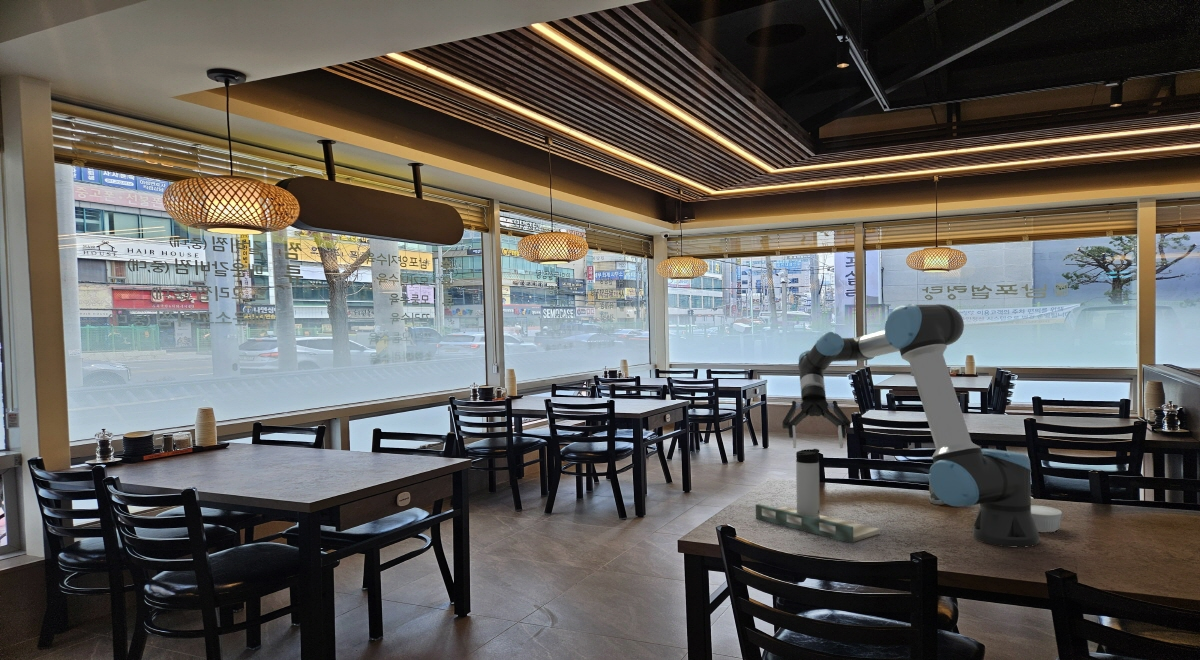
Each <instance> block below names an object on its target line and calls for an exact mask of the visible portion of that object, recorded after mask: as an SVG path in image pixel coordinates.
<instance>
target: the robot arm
mask: <svg viewBox="0 0 1200 660" xmlns="http://www.w3.org/2000/svg"><path fill="white" fill-rule="evenodd" d="M964 329H965V323H964V319H963V316H962V314H961V313H960V312H959V311H958V310H957V309H955V308H954V307H952V306H950V305H947V304H940V303H939V304H914V303H913V304H912V303H909V304H903V305H898V306H897V307H895V308H893V310H892V311H890V313H889V314H888V315H887V319H886V321H885V324H884V329H882V330H878V331H874V332H871V333H867V334H864V335H860V336H856V337H842V336H841V335H839V334H838V333H837V332H834V331H827V332H824V333H823V334H822V335H821V336H820V337H819V338H818V339H817V340H816V342H815V344H814V345H813V346H812V348H811V349H809V350H805V351H804V352H802V353H801V354H799V357H798V363H797V364H798V373H799V382H800V383H799V386H800V397H801V402H797V401H796V400H792V402H791V407H790V409H789V410H788V412H787V414H786V415H785V417H784V419H783V421H782V429H787V430H788V437H789V439H790V438H792V444H793V448H794V449H796V448H797V435H796V426H798V425H799V423H800V422H802V421H803V420H804V419H805V418H806V417H808V416H809V417H814V416H815V417H821V416H822V417H823V418H824V419H826V420H828V421H829V422H831V423H832V424H833V425H834V426H835V427H837V434H838V442H839V443H838V444H839V449H843V448H844V440H843V439H845V438H846V437H847V435H846V429H847V430H849V429H850V428H851V421H850V419H849V418H848V417H847V416H846V414H845V413H844V412H843V410H842V409H841V408H840V406H839V405H838V402H837V401H836V400H832V402H828V401H827V396H826V388H825V379H824V372H825V371H826V370H827V368H828V367H829V366H830V365H831V364H832V363H833V362H848V361H853V362H854V361H856V362H857V361H861V362H862V361H863V362H864V361H870V360H872V359H874V358H875V357H878V356H882V355H883V356H884V355H888V354H891V353H896V352H897V353H898V352H899V354H900V356H901V359H902V360H904V361H906V362H908V363H909V365H910V368H911V371H912V375H913V379H914V381H915V384H916V388H917V391H918V394H919V397H920V400H921V405H922V407H923V411H924V414H925V416H926V417H925V418H926V420H927V423H928V426H929V430H930V434H931V437H932V440H933V443H934V447H935V451H934V453H933V455H932V456H931V457H932V461H933V464H932V465H931V466H930V468H929V473H928V481H929V485H930V486H931V488H932V490H933V492H934V493H935V495H936V496H937V497H938V498H939V499H940V500H942V501H944V502H945V505H948V506H951V507H964V508H965V507H971V506H974V505H975V506H976V505H979V510H978V512H977V515H976V519H975V520H974V522H973V523H974V524H973V526H972V536H974V537H973V538H974V539H976V540H977V539H978V540H977V541H979V540H980V542H982V541H983V543H985V542H986V543H985V544H988V543H989V545H993V544H994V546H998V545H1002V546H1001V547H1005V546H1017V547H1016V548H1018V547H1022V548H1026V547H1025V546H1032V545H1036V544H1038V543H1039V544H1040V533H1038V530H1037V527H1036V524H1035V522H1034V519H1033V516H1032V514H1031V505H1032V499H1031V498H1032V489H1031V488H1032V487H1031V485H1032V478H1031V477H1032V476H1031V475H1032V474H1031V473H1032V469H1031V460H1030V458H1029V456H1028V455H1026V454H1025V453H1021V452H1020V453H1019V452H1017V451H1016V452H1014V451H1008V450H1001V449H994V448H993V449H992V448H981V446H979V445H977V444H975V443H973V441H972V439H971V434H970V433H969V429H968V427H967V423H966V420H965V417H964V414H963V411H962V407H961V406H960V402H959V398H958V396H957V394H956V393H957V392H956V389H955V386H954V384H953V382H952V378H951V374H950V372H949V368H948V365H947V362H946V359H945V357H944V353H945V351H946V350H947V349H948V348H947V347H948V346H949V345H952V344H954V343H955V342H957V341H958V340H959V339H960V338H961V337H962V335H963V332H964ZM829 408H830V410H832V411H833V413H832V412H831V411H830V410H829ZM799 409H801V411H800V412H799V413H798V414H796V411H797V410H799ZM795 414H796V415H795ZM794 415H795V417H794ZM793 417H794V418H793ZM1039 544H1038V545H1039ZM1036 546H1037V545H1036Z"/></svg>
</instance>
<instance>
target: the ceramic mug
mask: <svg viewBox="0 0 1200 660" xmlns="http://www.w3.org/2000/svg"><path fill="white" fill-rule="evenodd" d="M928 491H929V496H928V499H929V501H930V503H932V504H933V505H936V504H939V505H940V506H941V505H944V504H945V505H946V503H945V502H944V501H942V500H940V499H939V498H938V497H937V496H936V495H935V493H934V492H933V490H932V488H931V486H930V484H929V486H928ZM939 505H938V506H939Z"/></svg>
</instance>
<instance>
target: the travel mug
mask: <svg viewBox="0 0 1200 660" xmlns="http://www.w3.org/2000/svg"><path fill="white" fill-rule="evenodd" d="M819 452H820V449H818V448H813V449H812V448H811V449H809V448H808V449H801V450H797V451H796V453H795V455H796V460H795V469H796V470H795V471H796V473H795V474H796V476H795V477H796V484H795V485H796V486H795V487H796V488H795V489H796V509H797V513H798V514H802V515H807V516H811V517H815V518H819V519H820V515H821V514H820V513H821V512H820V508H821V507H820V459H819V458H820V453H819Z"/></svg>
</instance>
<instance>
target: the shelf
mask: <svg viewBox="0 0 1200 660" xmlns="http://www.w3.org/2000/svg"><path fill="white" fill-rule="evenodd" d="M819 515H820V519H819V518H815V517H811V516H807V515H802V514H798V513H797V508H792V507H787V506H781V507H778V508H777V507H773V506H768V505H764V504H759V503H758V504H757V503H756V504H755V518H756V519H758V520H762V521H766V522H769V523H773V524H777V525H781V526H784V527H790V528H792V529H797V530H801V531H804V532H809V533H811V534H816V535H818V536H819V535H820V536H823V537H826V538H831V539H834V540H838V541H843V542H847V543H854V542H858V541H861V540H863V539H867V538H870V537H873V536H876V535H878V534H880V533H881V532H880V530H881V529H880V528H877V527H873V526H868V525H864V524H860V523H856V522H851V521H847V520H843V519H838V518H835V517H832V516H831V517H830V516H826V515H821V514H819Z"/></svg>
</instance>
